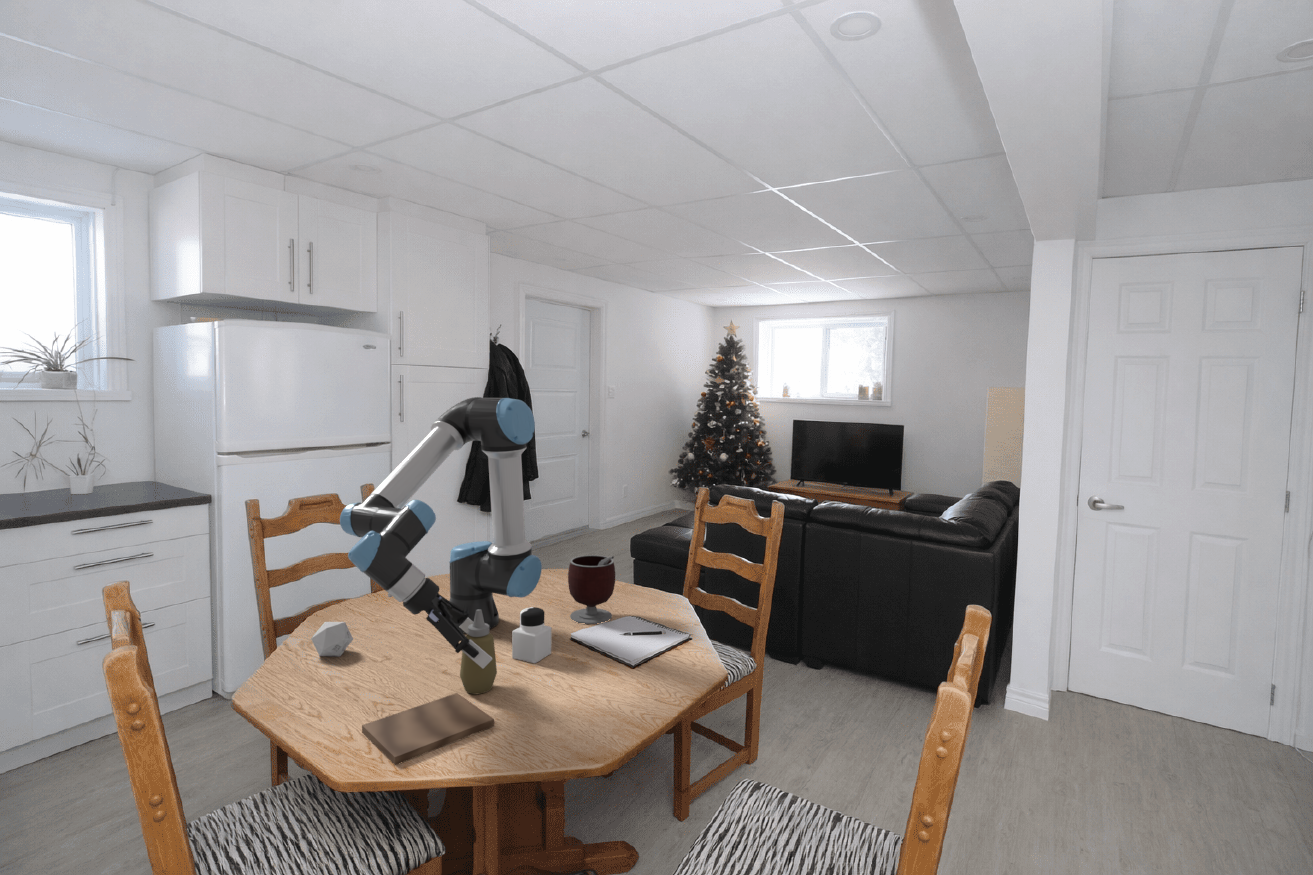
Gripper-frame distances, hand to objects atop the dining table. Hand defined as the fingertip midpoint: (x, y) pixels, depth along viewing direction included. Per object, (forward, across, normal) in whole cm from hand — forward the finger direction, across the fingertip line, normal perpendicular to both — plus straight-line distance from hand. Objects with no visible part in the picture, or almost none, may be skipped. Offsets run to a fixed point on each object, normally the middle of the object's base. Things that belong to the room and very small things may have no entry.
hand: (485, 651), depth 146 cm
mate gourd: (+29, -38, +17) cm, 51 cm away
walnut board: (-2, +15, -14) cm, 21 cm away
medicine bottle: (+15, -15, +2) cm, 21 cm away
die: (-19, -29, -31) cm, 47 cm away
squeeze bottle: (+5, 0, -7) cm, 9 cm away
